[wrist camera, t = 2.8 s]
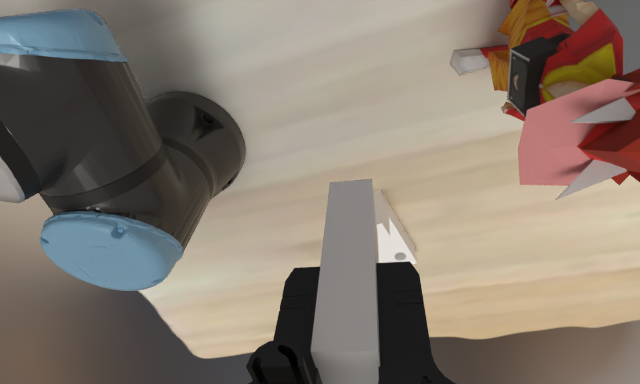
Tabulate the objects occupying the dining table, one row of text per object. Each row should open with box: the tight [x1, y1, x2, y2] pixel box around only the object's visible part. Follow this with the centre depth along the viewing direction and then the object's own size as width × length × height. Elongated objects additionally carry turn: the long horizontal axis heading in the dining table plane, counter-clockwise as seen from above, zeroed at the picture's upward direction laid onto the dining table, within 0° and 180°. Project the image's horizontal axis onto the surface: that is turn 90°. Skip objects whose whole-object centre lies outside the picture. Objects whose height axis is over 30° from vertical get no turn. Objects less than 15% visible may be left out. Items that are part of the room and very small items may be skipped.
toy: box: [450, 0, 640, 200], centre depth 29 cm, size 12×9×30 cm
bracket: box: [373, 190, 417, 264], centre depth 57 cm, size 13×7×8 cm, turn 31°
